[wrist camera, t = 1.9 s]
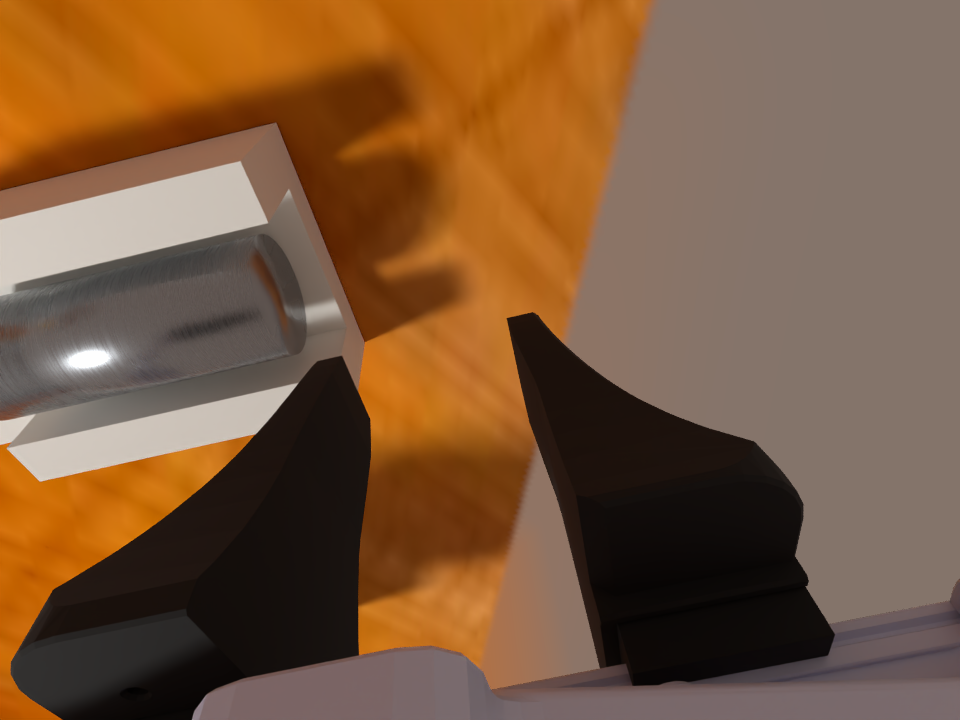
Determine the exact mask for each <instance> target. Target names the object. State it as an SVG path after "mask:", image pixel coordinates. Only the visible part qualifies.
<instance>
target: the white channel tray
mask: <svg viewBox="0 0 960 720" xmlns="http://www.w3.org/2000/svg"><path fill="white" fill-rule="evenodd" d="M258 234H266V235H268V236H270V237H271V238H272V239H274V240H275V241H276V242H277V244H278V245H279V246H280V247H281V249H282V250H283V252H284V253H285V255H286V257H287V258H288V260H289V262H290V264H291V266H292V269H293V271H294V273H295V275H296V278H297V281H298V284H299V287H300V290H301V294H302V297H303V302H304V307H305V313H306V323H307V334H306V342H305V345H304V348H303V350H302V351H301V352H300V353H299V354H297V355H294V356H289V357H285V358H280V359H276V360H272V361H267V362H263V363H258V364H254V365H250V366H245V367H241V368H236V369H232V370H227V371H223V372H219V373H214V374H210V375H205V376H201V377H197V378H192V379H188V380H183V381H179V382H175V383H170V384H166V385H161V386H157V387H153V388H148V389H144V390H139V391H135V392H130V393H126V394H122V395H117V396H113V397H108V398H104V399H100V400H95V401H91V402H86V403H82V404H78V405H73V406H69V407H64V408H60V409H56V410H51V411H47V412H42V413H38V414H33V415H29V416H25V417H20V418H16V419H11V420H5V421H0V445H1V444H5V443H10V442H12V443H11V444H10V445H9V446H8V447H7V449H8V450H9V451H10V452H11V453H12V454H13V455H14V456H15V457H16V458H17V459H18V460H19V461H20V462H21V463H22V464H23V465H24V466H25V467H26V468H27V469H28V470H29V471H30V472H31V473H32V474H33V475H34V476H35V477H36V478H37V479H38V480H39V481H45V480H49V479H54V478H58V477H63V476H67V475H72V474H76V473H81V472H85V471H90V470H94V469H99V468H103V467H108V466H112V465H117V464H121V463H126V462H131V461H135V460H140V459H144V458H149V457H153V456H158V455H162V454H167V453H171V452H176V451H180V450H185V449H189V448H194V447H198V446H203V445H207V444H212V443H217V442H221V441H226V440H230V439H235V438H239V437H244V436H248V435H253V434H257V432H258V431H259V430H260V429H261V428H262V427H263V426H264V425H265V423H266V422H267V421H268V420H269V419H270V418H271V417H272V415H273V414H274V413H275V412H276V411H277V409H278V408H279V407H280V406H281V404H282V403H283V402H284V401H285V399H286V398H287V397H288V396H289V394H290V393H291V392H292V391H293V389H294V388H295V387H296V386H297V384H298V383H299V382H300V381H301V379H302V378H303V377H304V376H305V374H306V373H307V372H308V371H309V369H310V368H311V367H312V366H313V365H314V364H315V363H316V362H317V361H320V360H324V359H329V358H333V357H337V356H343V359H344V361H345V363H346V366H347V368H348V370H349V372H350V375H351V377H352V379H353V381H354V384H355V386H356V388H357V391H358V386H359V379H360V372H361V365H362V358H363V351H364V344H365V342H364V340H363V337H362V335H361V332H360V330H359V327H358V325H357V322H356V320H355V317H354V315H353V312H352V310H351V307H350V305H349V302H348V300H347V297H346V295H345V292H344V290H343V287H342V285H341V282H340V280H339V278H338V275H337V273H336V270H335V268H334V265H333V263H332V260H331V258H330V255H329V253H328V250H327V248H326V245H325V243H324V240H323V238H322V235H321V233H320V230H319V228H318V225H317V223H316V220H315V218H314V215H313V213H312V210H311V208H310V205H309V203H308V200H307V198H306V195H305V193H304V190H303V188H302V186H301V183H300V181H299V178H298V176H297V173H296V171H295V168H294V166H293V163H292V161H291V158H290V156H289V153H288V151H287V148H286V146H285V143H284V141H283V138H282V136H281V133H280V131H279V128H278V126H277V123H272V124H268V125H264V126H260V127H256V128H252V129H248V130H244V131H240V132H236V133H232V134H227V135H223V136H219V137H215V138H211V139H207V140H203V141H199V142H195V143H191V144H187V145H183V146H179V147H175V148H171V149H167V150H163V151H159V152H155V153H151V154H147V155H143V156H139V157H135V158H131V159H127V160H123V161H118V162H114V163H110V164H106V165H102V166H98V167H94V168H90V169H86V170H82V171H78V172H74V173H70V174H66V175H62V176H58V177H54V178H50V179H46V180H42V181H38V182H34V183H30V184H26V185H22V186H18V187H13V188H9V189H5V190H1V191H0V296H2V295H6V294H10V293H14V292H18V291H23V290H27V289H31V288H35V287H39V286H44V285H48V284H52V283H56V282H60V281H65V280H69V279H73V278H77V277H81V276H86V275H90V274H94V273H98V272H102V271H107V270H111V269H115V268H119V267H123V266H128V265H132V264H136V263H140V262H144V261H149V260H153V259H157V258H161V257H165V256H170V255H174V254H178V253H182V252H186V251H191V250H195V249H199V248H203V247H207V246H212V245H216V244H220V243H224V242H228V241H233V240H237V239H241V238H245V237H249V236H254V235H258Z"/></svg>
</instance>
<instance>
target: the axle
mask: <svg viewBox="0 0 960 720" xmlns="http://www.w3.org/2000/svg"><path fill="white" fill-rule="evenodd" d="M306 334H307V323H306V313H305V307H304V302H303V297H302V294H301V290H300V287H299V284H298V281H297V278H296V275H295V273H294V271H293V269H292V266H291V264H290V262H289V260H288V258H287V257H286V255H285V253H284V252H283V250H282V249H281V247H280V246H279V245H278V244H277V242H276V241H275V240H274V239H272V238H271V237H270V236H268V235H266V234H258V235H254V236H249V237H245V238H241V239H237V240H233V241H228V242H224V243H220V244H216V245H212V246H207V247H203V248H199V249H195V250H191V251H186V252H182V253H178V254H174V255H170V256H165V257H161V258H157V259H153V260H149V261H144V262H140V263H136V264H132V265H128V266H123V267H119V268H115V269H111V270H107V271H102V272H98V273H94V274H90V275H86V276H81V277H77V278H73V279H69V280H65V281H60V282H56V283H52V284H48V285H44V286H39V287H35V288H31V289H27V290H23V291H18V292H14V293H10V294H6V295H2V296H0V421H5V420H11V419H16V418H20V417H25V416H29V415H33V414H38V413H42V412H47V411H51V410H56V409H60V408H64V407H69V406H73V405H78V404H82V403H86V402H91V401H95V400H100V399H104V398H108V397H113V396H117V395H122V394H126V393H130V392H135V391H139V390H144V389H148V388H153V387H157V386H161V385H166V384H170V383H175V382H179V381H183V380H188V379H192V378H197V377H201V376H205V375H210V374H214V373H219V372H223V371H227V370H232V369H236V368H241V367H245V366H250V365H254V364H258V363H263V362H267V361H272V360H276V359H280V358H285V357H289V356H294V355H297V354H299V353H300V352H301V351H302V350H303V348H304V345H305V342H306Z"/></svg>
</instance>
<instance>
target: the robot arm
mask: <svg viewBox="0 0 960 720" xmlns="http://www.w3.org/2000/svg"><path fill="white" fill-rule="evenodd" d="M507 322H508V326H509V331H510V336H511V341H512V345H513V350H514V355H515V360H516V364H517V369H518V374H519V379H520V383H521V388H522V392H523V396H524V401H525V405H526V409H527V413H528V418H529V422H530V425H531V428H532V430H533V433H534V436H535V439H536V441H537V444H538V447H539V450H540V453H541V455H542V458H543V461H544V464H545V466H546V469H547V472H548V475H549V478H550V480H551V483H552V486H553V489H554V491H555V494H556V497H557V500H558V503H559V507H560V510H561V513H562V517H563V521H564V524H565V529H566V533H567V537H568V541H569V544H570V548H571V553H572V556H573V561H574V564H575V568H576V572H577V576H578V580H579V585H580V589H581V593H582V597H583V601H584V605H585V609H586V613H587V617H588V621H589V625H590V629H591V633H592V638H593V641H594V646H595V649H596V654H597V658H598V662H599V666H600V669H596V670H590V671H585V672H580V673H575V674H570V675H565V676H559V677H554V678H549V679H544V680H539V681H534V682H529V683H523V684H518V685H513V686H508V687H503V688H498V689H492V690H491V689H490V687H489V685H488V682H487V680H486V678H485V675H484V673H483V672H482V671H481V670H480V669H479V668H478V667H477V666H476V665H475V664H473V663H472V662H471V661H470V660H469V659H468V658H467V657H465V656H464V655H463V654H461V653H459V652H455V651H451V650H447V649H443V648H439V647H434V646H420V647H403V648H394V649H389V650H384V651H379V652H374V653H369V654H364V655H359V645H358V575H359V549H360V537H361V530H362V522H363V515H364V507H365V500H366V492H367V485H368V477H369V468H370V460H371V428H370V418H369V416H368V413H367V411H366V409H365V407H364V404H363V402H362V400H361V397H360V395H359V393H358V391H357V388H356V386H355V384H354V381H353V379H352V377H351V375H350V372H349V370H348V368H347V366H346V363H345V361H344V359H343V356H337V357H333V358H329V359H324V360H320V361H317V362H316V363H315V364H314V365H313V366H312V367H311V368H310V369H309V371H308V372H307V373H306V374H305V376H304V377H303V378H302V379H301V381H300V382H299V383H298V384H297V386H296V387H295V388H294V389H293V391H292V392H291V393H290V394H289V396H288V397H287V398H286V399H285V401H284V402H283V403H282V404H281V406H280V407H279V408H278V409H277V411H276V412H275V413H274V414H273V415H272V417H271V418H270V419H269V420H268V421H267V422H266V423H265V425H264V426H263V427H262V428H261V429H260V430H259V431H258V432H257V434H256V435H255V436H254V437H253V438H252V439H251V440H250V441H249V442H248V444H247V445H246V446H245V447H244V448H243V449H242V450H241V451H240V452H239V453H238V454H237V455H236V456H235V457H234V458H233V459H232V460H231V461H230V462H229V463H228V464H227V465H226V466H225V467H224V468H223V469H222V470H221V471H220V472H219V473H217V474H216V475H215V476H214V477H213V478H212V479H211V480H210V481H209V482H208V483H207V484H205V485H204V486H203V487H202V488H201V489H199V490H198V491H197V492H196V493H195V494H193V495H192V496H191V497H190V498H188V499H187V500H186V501H185V502H183V503H182V504H181V505H180V506H179V507H177V508H176V509H175V510H174V511H172V512H171V513H170V514H169V515H167V516H166V517H165V518H163V519H162V520H161V521H159V522H158V523H157V524H155V525H154V526H152V527H151V528H150V529H148V530H147V531H146V532H144V533H143V534H141V535H140V536H138V537H137V538H135V539H134V540H133V541H131V542H130V543H128V544H127V545H125V546H124V547H122V548H121V549H119V550H118V551H116V552H115V553H113V554H112V555H110V556H108V557H107V558H105V559H104V560H102V561H100V562H99V563H97V564H95V565H94V566H92V567H90V568H89V569H87V570H86V571H84V572H82V573H81V574H79V575H77V576H76V577H74V578H72V579H71V580H69V581H67V582H66V583H64V584H62V585H61V586H59V587H57V588H55V589H54V590H53V591H52V593H51V594H50V596H49V598H48V600H47V601H46V603H45V605H44V606H43V608H42V610H41V612H40V613H39V615H38V617H37V618H36V620H35V622H34V624H33V625H32V627H31V629H30V630H29V632H28V634H27V636H26V637H25V639H24V641H23V642H22V644H21V646H20V648H19V649H18V651H17V653H16V654H15V656H14V658H13V660H12V661H11V675H12V677H13V679H14V681H15V683H16V684H17V686H18V688H19V690H21V691H22V692H23V693H24V694H25V695H27V696H28V697H29V698H30V699H32V700H33V701H35V702H36V703H38V704H39V705H41V706H42V707H44V708H46V709H47V710H49V711H50V712H52V713H53V714H55V715H56V716H58V717H60V718H61V719H63V720H960V579H959V580H958V581H957V582H956V584H955V586H954V588H953V591H952V595H951V599H950V601H945V602H940V603H935V604H930V605H925V606H919V607H914V608H909V609H904V610H899V611H893V612H888V613H883V614H878V615H873V616H868V617H863V618H857V619H852V620H847V621H842V622H837V623H832V624H828V622H827V621H826V619H825V617H824V616H823V614H822V613H821V611H820V610H819V608H818V606H817V605H816V603H815V601H814V600H813V598H812V597H811V595H810V593H809V592H808V590H807V589H806V587H805V586H807V585H808V582H809V580H808V577H807V574H806V573H805V571H804V570H803V568H802V567H801V565H800V564H799V562H798V560H797V559H796V557H795V553H796V549H797V544H798V540H799V535H800V531H801V526H802V521H803V502H802V500H801V498H800V497H799V494H798V493H797V491H796V489H795V488H794V487H793V485H792V484H791V482H790V481H789V480H788V479H787V477H786V476H785V474H784V473H783V472H782V471H781V470H780V469H779V467H778V466H777V465H776V464H775V463H774V462H773V461H772V460H771V459H770V458H769V456H768V455H766V453H765V452H764V451H763V450H762V449H761V448H760V447H759V446H758V445H757V444H756V443H755V442H754V441H751V440H747V439H744V438H740V437H737V436H733V435H730V434H726V433H723V432H720V431H716V430H712V429H709V428H706V427H703V426H700V425H697V424H695V423H692V422H690V421H687V420H684V419H682V418H679V417H677V416H674V415H672V414H670V413H667V412H665V411H663V410H661V409H659V408H657V407H654V406H652V405H650V404H648V403H646V402H644V401H642V400H640V399H638V398H636V397H634V396H633V395H631V394H629V393H628V392H626V391H624V390H623V389H621V388H619V387H618V386H616V385H615V384H613V383H612V382H610V381H609V380H607V379H606V378H604V377H603V376H602V375H600V374H599V373H598V372H596V371H595V370H594V369H592V368H591V367H590V366H588V365H587V364H586V363H585V362H583V361H582V360H581V359H580V358H579V357H577V356H576V355H575V354H574V353H573V352H572V351H571V350H570V349H569V348H567V347H566V346H565V345H564V344H563V343H562V342H561V341H560V340H559V339H558V338H557V337H556V336H555V335H554V334H553V333H552V332H551V331H550V330H549V328H548V327H547V326H546V325H545V324H544V323H543V321H542V320H541V319H540V317H539V316H538V315H536V314H535V313H533V312H532V313H528V314H523V315H519V316H514V317H510V318H507Z"/></svg>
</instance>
